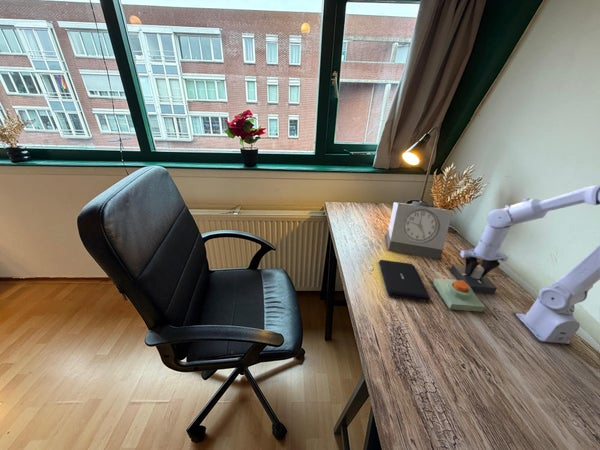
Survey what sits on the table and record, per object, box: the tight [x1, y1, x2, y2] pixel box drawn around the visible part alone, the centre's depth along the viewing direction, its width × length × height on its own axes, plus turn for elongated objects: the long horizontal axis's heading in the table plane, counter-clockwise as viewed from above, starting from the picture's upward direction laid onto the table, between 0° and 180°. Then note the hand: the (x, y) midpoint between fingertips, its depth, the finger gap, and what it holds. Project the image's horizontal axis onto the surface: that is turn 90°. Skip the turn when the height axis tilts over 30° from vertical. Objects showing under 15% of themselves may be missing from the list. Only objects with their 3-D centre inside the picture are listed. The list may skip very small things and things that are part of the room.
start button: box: [453, 279, 469, 292], centre depth 79 cm, size 4×4×2 cm
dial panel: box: [450, 264, 498, 294], centre depth 88 cm, size 12×9×3 cm
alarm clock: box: [385, 200, 454, 260], centre depth 104 cm, size 20×16×20 cm
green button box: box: [432, 277, 486, 313], centre depth 80 cm, size 12×10×4 cm
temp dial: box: [470, 264, 484, 279], centre depth 87 cm, size 4×4×4 cm
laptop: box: [378, 259, 431, 302], centre depth 86 cm, size 16×20×2 cm
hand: (474, 274), depth 87 cm, fingers open, 4 cm apart
